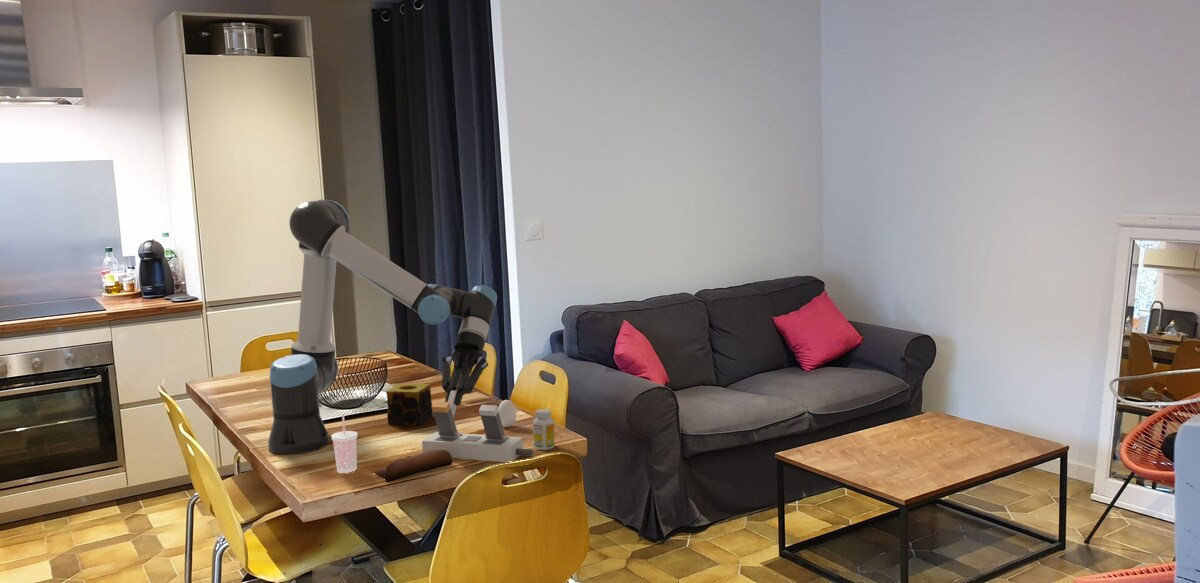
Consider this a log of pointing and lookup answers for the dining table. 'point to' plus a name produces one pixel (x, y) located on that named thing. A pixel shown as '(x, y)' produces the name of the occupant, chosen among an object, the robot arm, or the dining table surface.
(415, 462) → the sunglasses case
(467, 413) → the dining table surface
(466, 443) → the power strip
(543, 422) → the supplement bottle
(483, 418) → the switch white
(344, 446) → the beverage cup
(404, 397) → the candle
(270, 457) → the dining table surface
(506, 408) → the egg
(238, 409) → the dining table surface
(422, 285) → the robot arm
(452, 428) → the switch orange
